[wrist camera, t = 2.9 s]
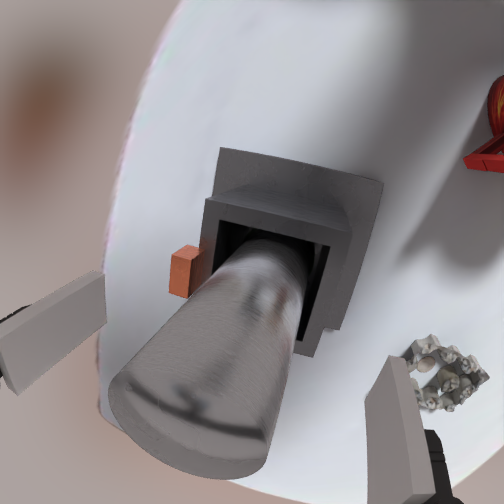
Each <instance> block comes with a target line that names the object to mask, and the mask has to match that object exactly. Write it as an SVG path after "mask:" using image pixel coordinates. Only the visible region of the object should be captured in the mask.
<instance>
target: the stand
mask: <svg viewBox="0 0 504 504" xmlns="http://www.w3.org/2000/svg"><path fill="white" fill-rule="evenodd" d="M383 185H384V183H382V182H378V181H375V180H371V179H367V178H364V177H360V176H356V175H353V174H349V173H345V172H341V171H337V170H333V169H329V168H325V167H321V166H316V165H312V164H308V163H303V162H299V161H294V160H289V159H284V158H280V157H275V156H269V155H264V154H259V153H253V152H248V151H242V150H236V149H230V148H224V147H220V152H219V158H218V164H217V170H216V176H215V182H214V189H213V195H212V197H209V198H206V199H205V206H204V213H203V221H202V228H201V236H200V243H199V248H197V247H194V246H190V245H186V246H184V247H183V248H181V249H180V250H178V251H177V252H175V253H174V254H172V257H171V269H170V283H169V293H171V294H174V295H177V296H180V297H183V298H186V299H188V298H189V297H190V296H191V295H192V294H193V292H194V293H195V292H196V291H197V290H198V289H199V288H200V287H201V286H202V285H203V284H204V283H205V282H206V281H207V280H208V279H209V278H210V277H211V276H212V275H213V274H214V273H215V272H216V271H217V269H218V268H219V267H220V266H221V265H222V264H223V263H224V262H225V261H226V260H227V259H228V258H229V257H230V256H231V255H232V254H233V253H234V252H235V251H236V250H237V249H238V248H239V247H240V246H241V245H242V243H243V241H244V239H245V237H246V235H247V234H248V233H249V232H250V231H251V230H252V229H253V228H258V229H262V230H267V231H271V232H275V233H279V234H283V235H287V236H291V237H295V238H299V239H303V240H307V241H311V242H314V247H315V259H314V265H313V269H312V271H311V273H310V275H309V277H308V279H307V285H306V290H305V296H304V301H303V306H302V311H301V316H300V321H299V326H298V331H297V336H296V341H295V345H294V350H293V353H296V354H300V355H304V356H308V357H313V356H314V354H315V351H316V348H317V345H318V343H319V340H320V337H321V334H322V332H323V329H324V327H327V328H331V329H335V330H340V327H341V324H342V321H343V319H344V316H345V313H346V310H347V308H348V305H349V302H350V299H351V296H352V293H353V290H354V287H355V284H356V281H357V278H358V275H359V272H360V269H361V266H362V262H363V259H364V256H365V253H366V249H367V246H368V242H369V239H370V235H371V232H372V228H373V225H374V221H375V217H376V213H377V210H378V206H379V202H380V198H381V194H382V190H383Z"/></svg>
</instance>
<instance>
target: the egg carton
mask: <svg viewBox="0 0 504 504" xmlns="http://www.w3.org/2000/svg"><path fill="white" fill-rule="evenodd" d="M411 348H412V350H413V354H414V355H413V357H412V358H411V359H410V360H409V361H407V362H406V364H407V368H408V371H409V373H410V372H412V371H413V370H415V369H416V367H417V370H418V371H419V372H427V371H430V370H431V369H432V368H433V367H434V365H435V359H434V358H433V357H431V356H427V357H424V358H422V359H420V360H419V362H418V361H417V358H416V355H417V354H418V353H421V354H429V353H430V352H432V351H434V350H435V349H437V351H438V353H439V355H440V358H441V359H442V360H444V361H446V362H447V363H448V364H450V363H452V362H454V361H455V360H456V358H457V360H458V362H459V365H460V367H461V369H462V370H463V372H464V373H466V374H463V375H461V376H459V377H458V375H457V373H456V371H455V369H454V367H453V366H451V365H448V366H445V367H443V368H441V369H440V370H439V371H438V373H437V379H438V382H439V384H440V387H441V392H449V391H451V390H454V389H455V390H454V391H453V392H452V393H447V394H444V395H442V396H441V397H439V395H438V393H437V390H436V388H435V387H434V386H428V387H425V388H424V389H419V386H418V383H417V381H416V379H414V378H411V381H412V385H413V388H414V392H415V396H416V400H417V403H418V406H419V405H421V406H425V407H426V408H428V409H443V408H444V409H445V410H446V411H447V412H453V411H454V408H455V406H457V405H458V404H461V405H462V404H463V403H464V401H465V399H466V398H469V397H470V396H471V395H472V394H473V393H474V392H475V391H477V390H478V387H479V385H481V384H483V383H484V382H485V381H487V380H488V379H489V378H490V377H489V376H488V374H487V373H486V372H485V371H484V370H483V369H482V368H481V367H480V365H479V363H478V361H477V359H476V358H475V356H473V355H471V354H470V355H469V356H468V357H466V358H465V357H464V356H462V355H461V354H460V352H459V350H458V348H457V347H456V346H454V345H451V346H450V347H448V348H445V347H442V346H441V344H440V342H439V340H438V338H437V337H436V336H435V335H432V334H430V335H429V336H428V337H427V338H425V339H417V340H415V341H414V343H413V344H412V345H411Z"/></svg>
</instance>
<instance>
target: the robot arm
mask: <svg viewBox="0 0 504 504" xmlns="http://www.w3.org/2000/svg"><path fill="white" fill-rule="evenodd" d="M106 323H107V319H106V303H105V277H104V274H102V273H99V272H96V271H94V270H92V271H90V272H89V273H87V274H85V275H83V276H81V277H79V278H78V279H76V280H74V281H72V282H70V283H69V284H67V285H65V286H63V287H62V288H60V289H58V290H56V291H54V292H53V293H51V294H49V295H48V296H46V297H44V298H42V299H41V300H39V301H37V302H35V303H34V304H31V305H28V306H24V307H21V308H20V309H18V310H16V311H15V312H13V314H10V315H8V316H7V317H6V318H3V319H2V320H0V378H1V377H2V376H3V378H4V380H5V382H6V385H7V387H8V388H9V389H11V390H12V391H13V392H14V393H15V394H16V395H17V396H18V395H20V394H21V393H22V392H23V391H24V390H25V389H27V388H28V387H29V386H30V385H31V384H33V383H34V382H35V381H36V380H37V379H39V378H40V377H41V376H42V375H43V374H44V373H45V372H47V371H48V370H49V369H50V368H52V367H53V366H54V365H55V364H56V363H58V362H59V361H60V360H61V359H62V358H64V357H65V356H66V355H67V354H69V353H70V352H71V351H72V350H73V349H75V347H77V346H78V345H80V344H81V343H82V342H83V341H84V340H86V339H87V338H88V337H89V336H91V335H92V334H93V333H94V332H96V331H97V330H98V329H99V328H101V327H102V326H103V325H104V324H106ZM364 402H365V417H366V435H367V466H368V499H367V504H464V503H463V502H462V501H460V499H458V498H455V497H453V495H452V490H451V485H450V479H449V474H448V470H447V465H446V463H445V456H444V454H443V448H442V444H441V440H440V438H439V437H438V436H437V434H436V433H435V431H434V430H426V429H424V428H423V424H422V420H421V415H420V411H419V407H418V403H417V400H416V396H415V392H414V388H413V385H412V381H411V378H410V374H409V371H408V368H407V364H406V361H405V358H400V357H395V356H390V355H389V356H388V358H387V360H386V362H385V364H384V366H383V368H382V370H381V372H380V374H379V376H378V378H377V380H376V381H375V383H374V385H373V387H372V389H371V391H370V392H369V394H368V396H367V398H366V399H365V401H364Z"/></svg>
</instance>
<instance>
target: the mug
mask: <svg viewBox="0 0 504 504" xmlns="http://www.w3.org/2000/svg"><path fill="white" fill-rule="evenodd" d="M487 107H488V118H489V123H490V127H491V130H492V133H493V136H494V137H493V138H492V139H491V140H489V141H488V142H487V143H485V144H484V145H482V146H481V147H480V148H478V149H477V150H476V151H474V152H473V153H471V154H470V155H468V156H466V157H465V158H463V160H464V162H465V165H466V167H467V169H474V170H481V171H493V172H500V173H504V155H497V153H499V152H500V151H502V152H503V153H504V75H502V76H501V77H499V78H497V79H496V80H495V81H494V82H493V84H492V86H491V88H490V91H489V95H488V103H487Z"/></svg>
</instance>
